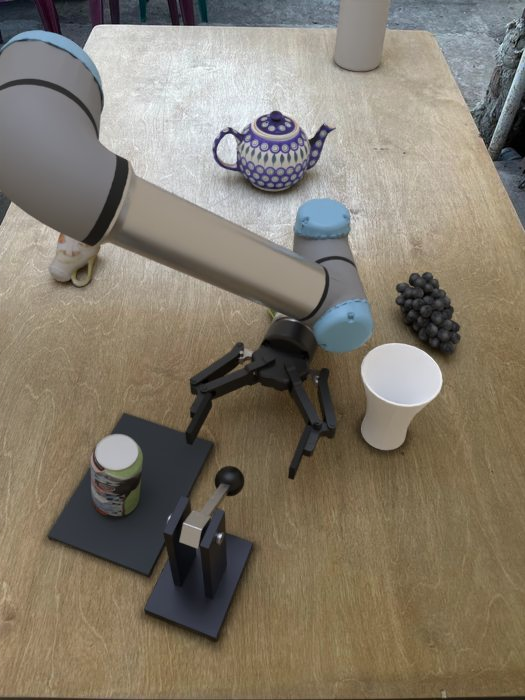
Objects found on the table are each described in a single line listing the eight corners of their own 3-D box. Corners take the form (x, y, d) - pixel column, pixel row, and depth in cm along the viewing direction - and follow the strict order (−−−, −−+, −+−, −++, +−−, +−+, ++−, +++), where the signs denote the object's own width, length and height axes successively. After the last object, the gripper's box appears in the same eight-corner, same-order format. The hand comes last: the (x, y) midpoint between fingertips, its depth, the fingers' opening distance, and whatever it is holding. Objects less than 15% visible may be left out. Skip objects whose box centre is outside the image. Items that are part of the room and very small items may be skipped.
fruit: (476, 323, 92) (432, 256, 102) (424, 344, 93) (384, 276, 102) (476, 354, 99) (435, 289, 108) (427, 374, 100) (390, 307, 109)
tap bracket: (187, 523, 80) (179, 459, 68) (253, 547, 78) (256, 486, 66) (145, 613, 73) (127, 559, 61) (216, 642, 71) (212, 592, 59)
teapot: (216, 202, 125) (214, 135, 114) (210, 161, 135) (207, 95, 123) (338, 195, 128) (347, 129, 117) (323, 155, 137) (331, 90, 126)
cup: (421, 409, 93) (444, 350, 83) (417, 470, 86) (441, 414, 76) (352, 396, 94) (365, 336, 84) (342, 454, 88) (355, 396, 77)
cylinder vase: (389, 62, 168) (408, -43, 149) (360, 77, 162) (377, -30, 143) (352, 47, 174) (366, -56, 155) (324, 61, 168) (335, -44, 149)
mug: (39, 284, 108) (34, 226, 105) (80, 275, 116) (77, 221, 113) (70, 290, 105) (66, 230, 102) (110, 280, 113) (108, 225, 110)
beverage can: (90, 486, 82) (72, 436, 73) (146, 471, 84) (135, 421, 75) (97, 529, 78) (79, 482, 69) (155, 513, 80) (145, 465, 71)
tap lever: (218, 482, 78) (223, 457, 77) (245, 491, 77) (250, 466, 76) (171, 544, 65) (177, 515, 63) (203, 556, 64) (209, 527, 63)
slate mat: (48, 538, 78) (47, 535, 78) (124, 415, 91) (123, 412, 90) (149, 577, 76) (148, 574, 75) (213, 445, 88) (213, 442, 87)
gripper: (373, 377, 90) (333, 503, 77) (214, 330, 95) (150, 440, 82) (382, 343, 84) (340, 473, 71) (213, 295, 89) (144, 407, 76)
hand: (239, 456), depth 77 cm, fingers open, 13 cm apart
